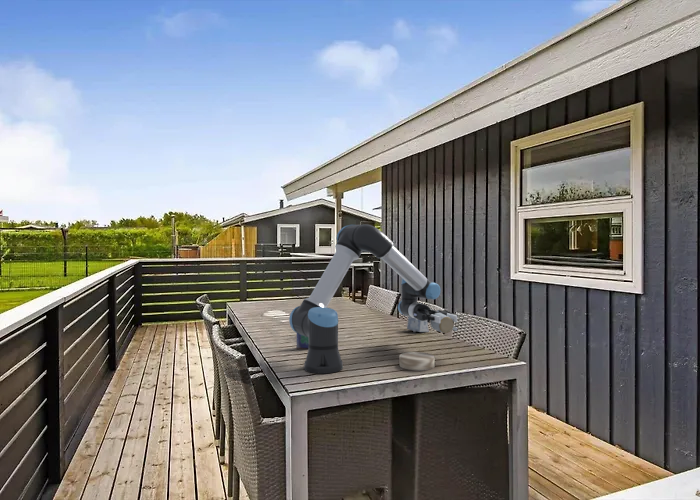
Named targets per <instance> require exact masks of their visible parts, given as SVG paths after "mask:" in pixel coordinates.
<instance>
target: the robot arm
mask: <svg viewBox="0 0 700 500" xmlns="http://www.w3.org/2000/svg"><path fill="white" fill-rule="evenodd" d="M334 246H335V247H334V248H335V253H334V254H333V256H332V258H331V260H330V261H329V263H328V265H327V266H326V268H325V270H324V272H323V273H322V275H321V277H319V280H318V282H317V284H316V285H315V286H314V288H313V290H312V292H311V294H310V295H309V297H307V298H303V301H302V302H301V303H300V305H299V306H297V307H295V308H293V309H292V310H291V312H290V314H289V321H288V323H289V326H290V328H291V329H292V331H293V332H295V333H296V334H297V333H298V334H299V335H302V336H306V337H308V338H309V349H307V354H306V357H305V358H306V359H305V360H304V363H303V365H304V366H303V369H304V370H305V372H308V373H312V374H313V373H314V374H332V373H337V372H340V371H342V369H343V365H344V364H343V363H344V362H343V360H342V359H341V358H342V357H341V354H340V351H339V317H338V316H339V315H338V312H337V310H335V309H333V308H330V307H328V306H329V304H330V303H331V301H332V299H333V297H334V296H335V294H336V292H337V290H338V288H339V287H340V285H341V283H342V282H343V279H344V277H346V274H347V273H348V270H349V269H350V267H351V265H352V263H353V262H354V261H356V260H359V258H360V256H361V254H362V253H363V252H366V253H370V254H372V255H373V256H374V257H375V258H377V259H381V260H382V261H383V262H384V263H385V264H387V266H389V267H390V268H391V269H392V270H393V272H395V273H396V274H397V275H398V276H400V278H401V300H400V301H399V303H398V305H397V309H398V312H399V313H400V314H401V315H403V316H405V317H407V318H408V317H412V318H415V319H416V320H421V321H425V320H427V322H428V323H430V320H431V321H433V322H436V323H441V317H440V316H436V315H434V314H435V313H442V314H444V315H446V316H448V317H450V318H451V319H452V320H453V323H458V315H456V314H454V313H453V312H451V311H445V310H440V309H436V310H435V309H433V308H430V306H429V305H428V304H424V303H421V302H418V298H420V299H425V300H426V299H427V300H436V299H438V298H439V296H440V295H441V287H440V284H438V283H436V282H435V281H434V282H433V281H430V280H429V279H428V278H427V277H426V276H425V275H424V274H423V273H422V272H421V271H420V270H419V269H418V268H417V267H416V266H414V265H413V263H411V262H410V260H408V258H407V257H406V256H405V255H403V254H402V253H401V252H400V251H399V250H398V249H397V248H396V247H395V246H394V243H393V241H392V240H391V239H390V237H388V236H387V235H386V234H385V233H384V232H383V231H382V230H381V229H378V228H377V226H376V227H375V226H373V225H371V224H368V223H367V224H349V225H345V226H343V227H342V228H340V229H339V231H338V232H337V235H336V244H335V245H334Z"/></svg>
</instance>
